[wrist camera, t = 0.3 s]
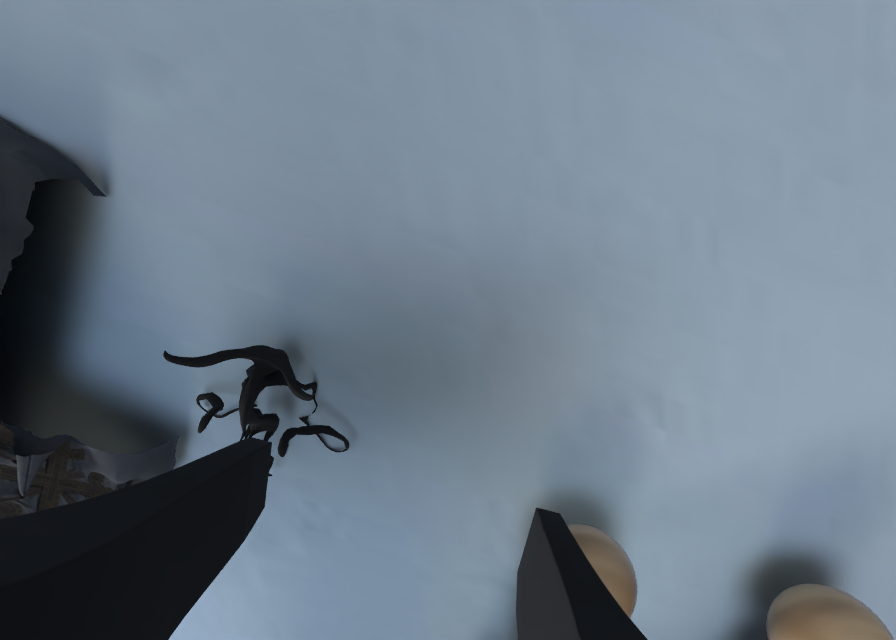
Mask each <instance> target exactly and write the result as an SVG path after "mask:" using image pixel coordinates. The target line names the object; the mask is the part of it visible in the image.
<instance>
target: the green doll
mask: <svg viewBox="0 0 896 640" xmlns="http://www.w3.org/2000/svg"><path fill="white" fill-rule="evenodd" d="M567 526H568V528H569V530H570V531H571V533H572V535H573V536H574V538H575V540H576V541H577V543H578V545H579V546H580V548H581V549H582V551H583V553H584V554H585V556H586V557H587V559H588V561H589V562H590V564H591V565H592V567H593V568H594V570H595V571H596V573H597V574H598V576H599V577H600V579H601V580H602V582H603V583H604V585H605V586H606V587H607V589H608V590H609V592H610V593H611V594H612V596H613V597H614V598H615V600H616V601H617V602H618V604H619V605H620V606H621V608H622V609H623V610H624V612H625V613H626V614H627V616H628V617H629V618H630V617H631V616H632V614H633V611H634V608H635V605H636V600H637V580H636V575H635V571H634V568H633V566H632V563H631V561H630V559H629V557H628V555H627V554H626V552H625V551H624V549H623V548H622V547H621V546H620V545H619V543H618V542H617V541H616V540H615V539H614V538H612V537H611V536H610V535H608V534H607V533H605V532H604V531H602V530H600V529H598V528H595V527H592V526H589V525H584V524H571V525H567Z"/></svg>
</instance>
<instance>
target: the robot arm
mask: <svg viewBox="0 0 896 640" xmlns="http://www.w3.org/2000/svg"><path fill="white" fill-rule="evenodd" d="M271 446H272V442H268V441H264V440H260V439H256V438H252V437H250V438H247V439H244V440H242V441H239V442H237V443H234V444H232V445H230V446H227V447H225V448H223V449H220V450H218V451H216V452H214V453H211V454H209V455H207V456H204V457H202V458H200V459H197V460H195V461H193V462H190V463H188V464H186V465H183V466H181V467H179V468H176V469H174V470H171V471H168V472H166V473H163V474H161V475H158V476H155V477H153V478H150V479H148V480H145V481H142V482H140V483H137V484H134V485H131V486H128V487H125V488H122V489H119V490H116V491H113V492H110V493H106V494H103V495H100V496H96V497H93V498H90V499H86V500H82V501H79V502H74V503H70V504H66V505H62V506H58V507H54V508H50V509H45V510H41V511H37V512H33V513H28V514H23V515H18V516H13V517H8V518H3V519H0V640H168V639H169V638H170V636H171V635H172V633H173V632H174V631H175V629H176V628H177V627H178V625H179V624H180V622H181V621H182V620H183V618H184V617H185V616H186V614H187V613H188V612H189V611H190V609H191V608H192V607H193V606H194V604H195V603H196V602H197V601H198V599H199V598H200V597H201V595H202V594H203V593H204V592H205V590H206V589H207V588H208V587H209V585H210V584H211V583H212V582H213V580H214V579H215V578H216V576H217V575H218V574H219V573H220V571H221V570H222V569H223V568H224V566H225V565H226V564H227V562H228V561H229V560H230V559H231V557H232V556H233V555H234V553H235V552H236V551H237V550H238V548H239V547H240V546H241V544H242V543H243V542H244V540H245V539H246V537H247V536H248V534H249V532H250V531H251V529H252V527H253V526H254V524H255V522H256V521H257V519H258V517H259V516H260V514H261V512H262V510H263V509H264V507H265V499H266V490H267V481H268V472H269V464H270V455H271ZM516 617H517V630H518V640H647V638H646V637H645V636H644V635H643V634H642V633H641V631H640V630H639V629H638V628H637V627H636V626H635V624H634V623H633V622H632V621H631V619H630V618H629V617H628V616H627V614H626V613H625V612H624V610H623V609H622V608H621V606H620V605H619V604H618V602H617V601H616V600H615V598H614V597H613V596H612V594H611V593H610V592H609V590H608V589H607V587H606V586H605V585H604V583H603V582H602V580H601V579H600V577H599V576H598V574H597V573H596V571H595V570H594V568H593V567H592V565H591V564H590V562H589V561H588V559H587V557H586V556H585V554H584V553H583V551H582V549H581V548H580V546H579V545H578V543H577V541H576V540H575V538H574V536H573V535H572V533H571V531H570V530H569V528H568V526H567V525H566V523H565V521H564V520H563V518H562V517H561V515H560V513H556V512H552V511H548V510H543V509H539V508H536V511H535V514H534V517H533V521H532V524H531V528H530V531H529V534H528V538H527V541H526V545H525V548H524V551H523V555H522V558H521V562H520V565H519V568H518V573H517V599H516Z"/></svg>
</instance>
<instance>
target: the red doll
mask: <svg viewBox="0 0 896 640" xmlns="http://www.w3.org/2000/svg"><path fill="white" fill-rule="evenodd" d="M766 628H767V635H768V640H894V638H893V637H892V635H891V633H890V632H889V630H888V629H887V627H886V626H885V624H884V623H883V622H882V621H881V620H880V618H879V617H878V616H877V615H876V614H875V613H874V612H873V611H872V610H871V609H869V608H868V607H867V606H866V605H864V604H863V603H862V602H861V601H859V600H858V599H856V598H854V597H853V596H851V595H849V594H848V593H845V592H843V591H841V590H839V589H836V588H833V587H830V586H826V585H821V584H800V585H795V586H792V587H790V588H787V589H786V590H784V591H782V592H781V593H780V594H779V595H778V596H777V597H776V598H775V599H774V600H773V602H772V604H771V606H770V608H769V610H768V615H767V622H766Z"/></svg>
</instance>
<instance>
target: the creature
mask: <svg viewBox="0 0 896 640" xmlns="http://www.w3.org/2000/svg"><path fill="white" fill-rule="evenodd" d="M163 356H164V358H165V359H166V360H167V361H169V362H172V363H175V364H179V365H184V366H189V367H206V366H211V365H214V364H217V363H220V362H223V361H226V360H230V359H236V358H245V359H250V360H252V361H253V362H254V365H252V366H251V367H249V368H248V369H247V370H246V372H247V376H248V377H247V378H246V379H245V380H244V382H243V383H242V391H241V396H240V400H239V408H237V409H234V410H231V411H229V412H227V413H226V414H224V415H222V416H217V415H215V414H216V413H217V412H218V411H221V410H223V407H224V403H223V401H222V400H221V398H220V397H218V396H217V395H216V394H214V393H213V392H211V393H206V394H200V395H199V396H198V397H197V399H196V400H197V404H198V405H199V406H200V407H201V408H202V409H203V410H204V411H206V412H207V413H206V414H205V415H204V416H203V417H202V419H201V421H200V423H199V427H198V432H199V433H201V432H202V431H203V430H204V429H205V428H206V427H207V425H208V423H209V422H210V420H211V418H212V417H213V416H214V417H216V418H223V417H225V416H227V415H229V414H231V413H233V412H235V411H237V410H239V413H240V421H241V426H242V431H243V433H242V437H241V439H240V441H242V439H243V438H244V436H245V439H246V438H247V437H248V436H249V437H248V438H250V437H252V436H253V435H255V434H257V433H259V432H262V431H267V432H266V434H265V437H264V441H268V440H269V438H270V437H271V436H272V435H273V434H274V432H275V431H276V430H277V428H278V426H279V418H278V416H277V414H274V413H271V414H262V412H261V411H260V409H258V408H254V407H257V405H256V404H254V402H255V400H256V398H257V396H258V395H259V393H260V392H261V391H262V390H263V389H264V388H265V387H267V386H275V385H286V386H288V387H289V388H290V390H291V391H292V393H293V394H294V395H295V396H297V397H298V398H300V399H302V400H306V401H310V400H314V402H315V404H316V408H317V406H318V405H317V403H316V400H315V394H316V389H317V383H316V382H312V383H309V384H306V385H305V384H302V383H299V382H298V381H297V380H296V378H295V376H294V373H293V370H292V367H291V365H290V362H289V358H288V356H287V354H286V353H285V352H284V351H283V350H281V349H274V348H271V347H268V346H264V345H257V346H251V347H247V348H242V349H232V350H225V351H220V352H217V353H214V354H210V355H207V356H201V357H193V358H192V357H178V356H173V355H170V354H168V353H167V352H166V350H165V351H164V354H163ZM310 388H312V390H313V393H312V395H309V394H307V393H306V392H304V391H303V390H305V391H306V390H308V389H310ZM302 389H303V390H302ZM204 399H207V400H208V401H209V402H210V404H211V405H212V406H213V408H212V409H211V410H210V411H207V410H205V409H204V408H203V407H202V406H201V405H200V402H199V400H204ZM316 408H315V410H316ZM315 410H314V411H313V413H314V412H315ZM313 413H312V414H313ZM309 416H310V415H309ZM307 418H308V416H307V417H301V418H300V417H299V419H300V420H301V421H303V422H304V423H305V424H306V425H307V426H302V427H299V428H290V429H287V430H286V431H285V432H284V433H283V435H282V437H281V439H280V442H279V446H278V453H279V455H280V456H281V457H284V455H285V453H286V451H287V448H288V443H289V440H290V439H291V438H293V437H294V436H295V435H296V434H297V435H313V434H316V435H317V436H318V437H319V439H320V440H321V441H322V442H323V443H324V445H325V446H326V447H327V448H329V447H328V446H327V445H326V443H325V442H324V440H323V439H322V437H321V436H320V435H319V434H320V433H324V434H328V435H331V436H334V437H336V438H338V439H340V440H342V441H343V442H344V444H345V446H346V449H344V450H343V451H335V450H332V449H331V448H329V449H330V450H332V451H334V452H344V451H346V450H348V448H349V442H348V440H347V439H346V438H345V437H344V436H343V435H341V434H340V433H338V432H337V431H335V430H334V429H333V428H331V427H330V426H323V425H311V426H310V424H309V423H308V421H307ZM248 424H249V426H248V428H247V430H246V425H248ZM249 434H250V435H249ZM273 460H274V458H273V457H272V456H271V455H270V464H269V470H270V468H271V466H272V464H273ZM268 476H272V474H269V472H268Z"/></svg>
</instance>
